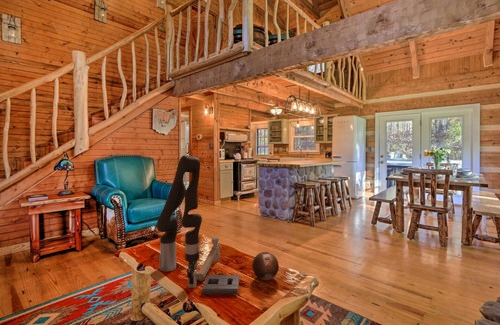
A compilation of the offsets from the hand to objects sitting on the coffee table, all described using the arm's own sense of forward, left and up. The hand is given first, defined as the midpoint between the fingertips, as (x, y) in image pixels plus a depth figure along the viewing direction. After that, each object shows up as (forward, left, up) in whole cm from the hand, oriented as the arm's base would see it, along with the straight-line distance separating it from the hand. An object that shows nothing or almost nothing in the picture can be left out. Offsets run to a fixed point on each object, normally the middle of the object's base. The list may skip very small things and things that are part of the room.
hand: (192, 281), depth 137 cm
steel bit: (0, 0, -2) cm, 2 cm away
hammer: (+6, +19, -3) cm, 20 cm away
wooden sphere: (+40, +8, -3) cm, 41 cm away
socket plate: (+16, -1, -2) cm, 16 cm away
